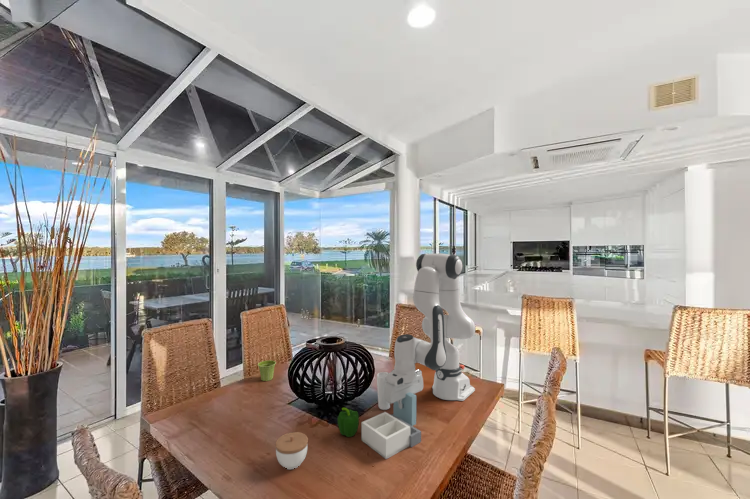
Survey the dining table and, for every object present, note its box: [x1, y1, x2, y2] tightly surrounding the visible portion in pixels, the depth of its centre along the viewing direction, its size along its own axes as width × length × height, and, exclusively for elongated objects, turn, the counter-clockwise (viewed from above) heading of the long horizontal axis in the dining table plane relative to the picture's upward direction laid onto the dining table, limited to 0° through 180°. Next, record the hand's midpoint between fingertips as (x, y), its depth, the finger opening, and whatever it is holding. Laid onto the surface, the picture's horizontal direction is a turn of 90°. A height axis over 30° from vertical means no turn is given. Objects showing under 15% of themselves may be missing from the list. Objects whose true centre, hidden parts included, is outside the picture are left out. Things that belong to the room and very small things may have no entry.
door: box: [392, 392, 417, 427], centre depth 139 cm, size 3×11×12 cm, turn 40°
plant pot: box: [257, 359, 277, 382], centre depth 180 cm, size 9×9×9 cm
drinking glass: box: [376, 371, 391, 411], centre depth 149 cm, size 7×7×15 cm
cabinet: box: [361, 411, 422, 460], centre depth 125 cm, size 17×16×7 cm
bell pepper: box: [337, 407, 360, 438], centre depth 129 cm, size 8×8×10 cm
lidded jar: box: [274, 431, 309, 470], centre depth 112 cm, size 11×11×9 cm
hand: (404, 406), depth 139 cm, fingers closed on door, 3 cm apart
